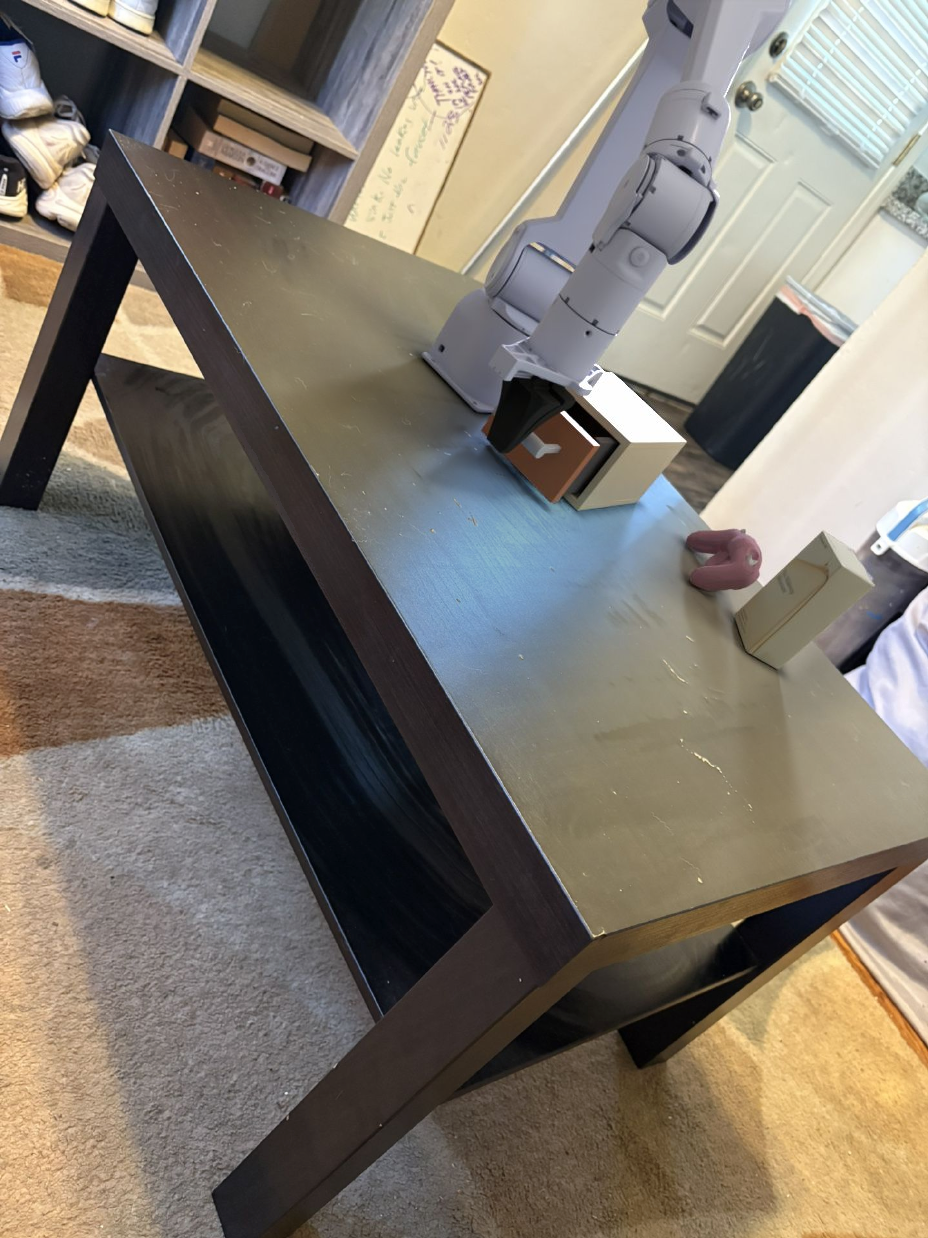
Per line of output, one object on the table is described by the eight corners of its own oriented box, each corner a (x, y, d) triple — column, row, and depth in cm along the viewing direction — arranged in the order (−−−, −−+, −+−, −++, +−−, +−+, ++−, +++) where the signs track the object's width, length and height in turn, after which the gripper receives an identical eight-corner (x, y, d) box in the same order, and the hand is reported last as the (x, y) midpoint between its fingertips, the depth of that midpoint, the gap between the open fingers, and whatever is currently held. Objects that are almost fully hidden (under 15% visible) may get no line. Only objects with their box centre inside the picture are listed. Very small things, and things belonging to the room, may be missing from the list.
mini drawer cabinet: (577, 511, 86) (631, 442, 81) (501, 434, 89) (549, 364, 85) (636, 503, 96) (687, 441, 92) (567, 434, 100) (612, 372, 96)
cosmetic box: (731, 615, 88) (820, 526, 82) (765, 633, 90) (854, 548, 83) (746, 654, 83) (841, 563, 77) (781, 673, 84) (877, 585, 78)
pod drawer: (526, 506, 78) (571, 446, 74) (454, 430, 81) (493, 369, 78) (611, 496, 91) (652, 445, 88) (546, 431, 94) (583, 379, 91)
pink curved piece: (705, 612, 89) (772, 585, 86) (686, 577, 87) (754, 548, 85) (699, 567, 97) (761, 541, 95) (682, 534, 96) (744, 507, 93)
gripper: (577, 335, 63) (478, 478, 70) (659, 351, 75) (567, 473, 82) (515, 277, 65) (425, 422, 72) (604, 301, 77) (519, 424, 84)
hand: (497, 445), depth 77 cm, fingers closed
